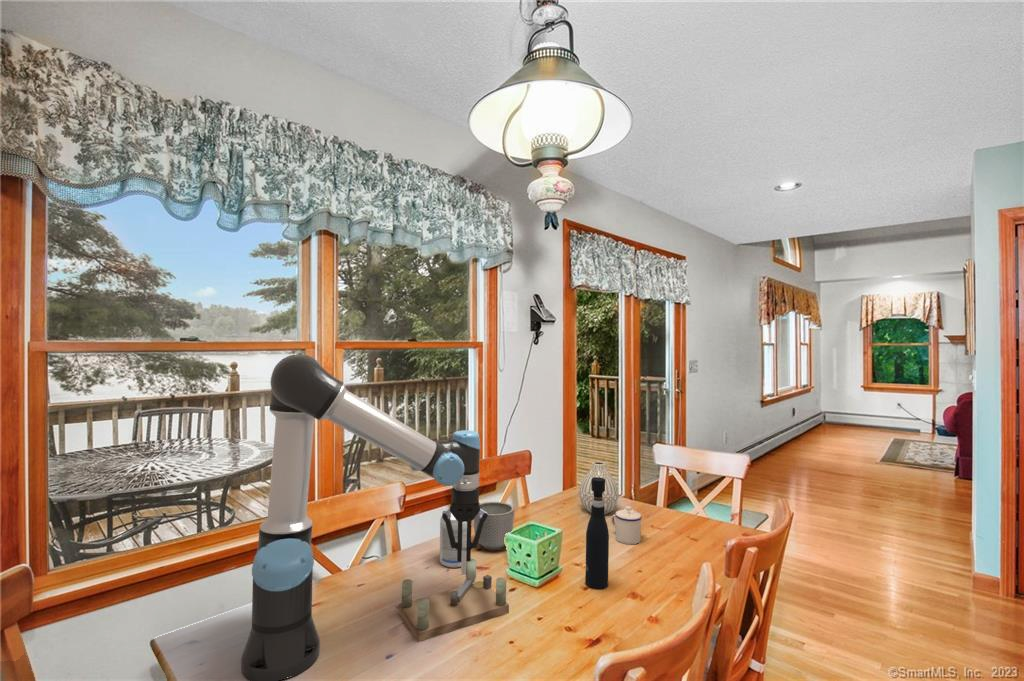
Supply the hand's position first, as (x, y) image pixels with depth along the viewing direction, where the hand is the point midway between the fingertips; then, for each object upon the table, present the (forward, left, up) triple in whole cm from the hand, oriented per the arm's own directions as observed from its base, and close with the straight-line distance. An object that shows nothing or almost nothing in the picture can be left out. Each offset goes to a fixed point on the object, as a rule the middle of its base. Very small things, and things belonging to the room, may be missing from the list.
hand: (463, 572), depth 135 cm
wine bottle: (+34, -16, -5) cm, 38 cm away
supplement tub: (+5, +17, -5) cm, 18 cm away
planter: (+21, +21, -5) cm, 30 cm away
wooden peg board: (-7, -9, -5) cm, 13 cm away
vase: (+76, +30, -5) cm, 82 cm away
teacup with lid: (+65, +4, -5) cm, 66 cm away
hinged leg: (-2, -4, -2) cm, 5 cm away
